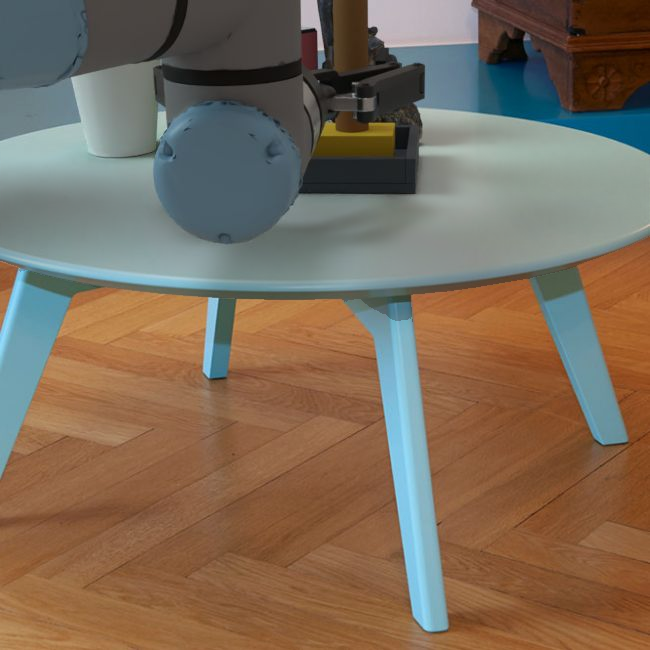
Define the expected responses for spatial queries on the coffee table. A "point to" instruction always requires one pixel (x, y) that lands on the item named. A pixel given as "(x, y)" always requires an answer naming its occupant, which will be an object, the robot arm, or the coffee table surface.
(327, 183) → the tray
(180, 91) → the robot arm
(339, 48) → the sponge brush
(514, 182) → the coffee table surface
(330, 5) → the statue
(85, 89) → the foam cup
